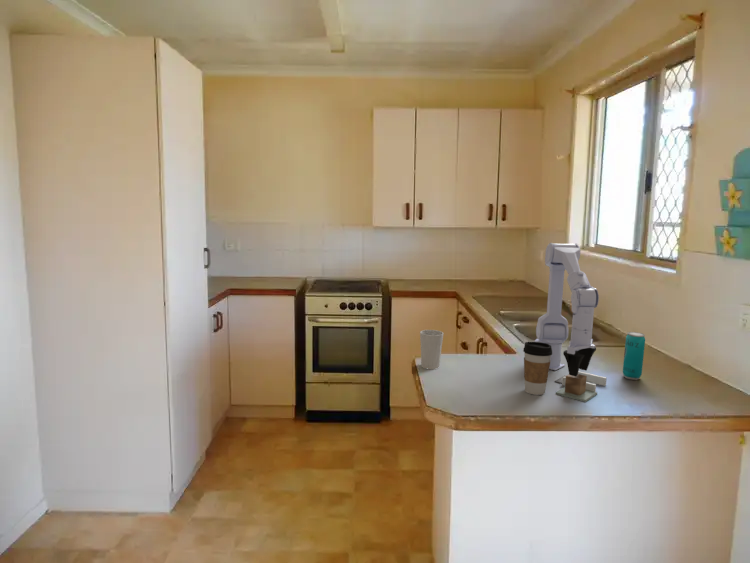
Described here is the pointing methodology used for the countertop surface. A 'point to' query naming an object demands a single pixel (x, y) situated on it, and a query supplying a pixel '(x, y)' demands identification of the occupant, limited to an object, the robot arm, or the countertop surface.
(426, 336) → the cup
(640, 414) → the countertop surface
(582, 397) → the coaster
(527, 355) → the coffee cup
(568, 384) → the block
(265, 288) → the countertop surface
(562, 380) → the white u-shaped frame
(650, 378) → the countertop surface
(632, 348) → the beverage can
